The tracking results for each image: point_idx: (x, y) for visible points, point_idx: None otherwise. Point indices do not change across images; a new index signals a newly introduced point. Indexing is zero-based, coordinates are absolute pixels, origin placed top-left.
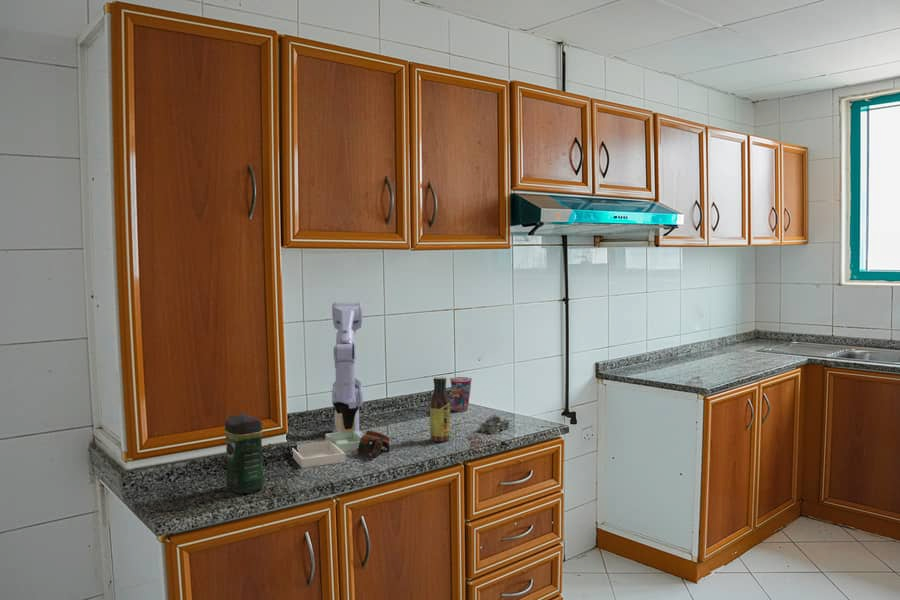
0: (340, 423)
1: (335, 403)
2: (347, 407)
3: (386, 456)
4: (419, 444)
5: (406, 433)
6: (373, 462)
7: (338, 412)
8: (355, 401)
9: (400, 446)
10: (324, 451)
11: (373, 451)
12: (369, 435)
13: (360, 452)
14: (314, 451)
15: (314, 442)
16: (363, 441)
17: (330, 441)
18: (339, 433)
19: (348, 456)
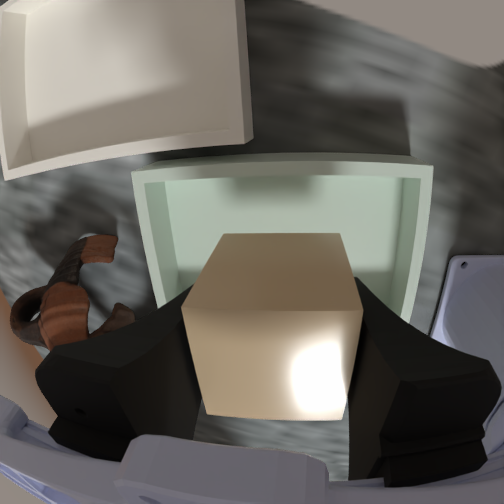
0: (210, 267)
1: (441, 405)
2: (61, 417)
3: (93, 327)
4: (206, 438)
5: (347, 450)
6: (40, 267)
7: (366, 339)
8: (5, 476)
9: (201, 403)
10: (198, 95)
11: (31, 291)
12: (50, 334)
13: (69, 253)
14: (220, 42)
15: (234, 35)
16: (51, 292)
17: (215, 140)
18: (410, 254)
19: (115, 202)
